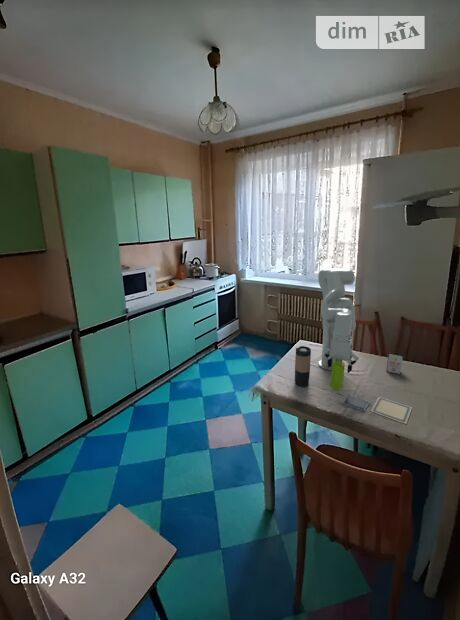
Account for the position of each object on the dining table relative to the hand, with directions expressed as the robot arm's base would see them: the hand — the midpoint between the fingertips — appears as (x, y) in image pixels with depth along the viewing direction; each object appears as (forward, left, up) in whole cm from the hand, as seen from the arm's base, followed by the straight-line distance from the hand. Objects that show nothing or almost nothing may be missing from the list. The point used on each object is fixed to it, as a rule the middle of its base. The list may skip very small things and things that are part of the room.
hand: (339, 369), depth 146 cm
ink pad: (+8, +12, -11) cm, 18 cm away
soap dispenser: (-1, 0, -11) cm, 11 cm away
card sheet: (+3, +26, -11) cm, 28 cm away
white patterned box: (-35, +19, -11) cm, 41 cm away
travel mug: (+7, -16, -11) cm, 21 cm away
